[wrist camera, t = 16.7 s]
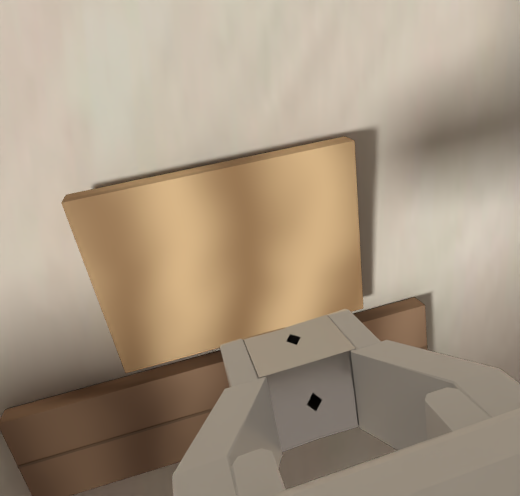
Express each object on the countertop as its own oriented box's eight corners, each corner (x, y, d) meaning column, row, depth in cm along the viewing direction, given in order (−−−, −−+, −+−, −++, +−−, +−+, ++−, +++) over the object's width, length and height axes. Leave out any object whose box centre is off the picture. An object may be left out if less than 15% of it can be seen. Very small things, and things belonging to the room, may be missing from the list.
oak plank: (126, 359, 25) (125, 373, 24) (66, 194, 20) (61, 202, 19) (354, 298, 27) (363, 308, 26) (344, 136, 22) (354, 140, 21)
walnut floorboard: (42, 488, 26) (36, 506, 25) (5, 409, 24) (-3, 424, 23) (418, 374, 30) (429, 385, 29) (414, 297, 28) (425, 305, 27)
